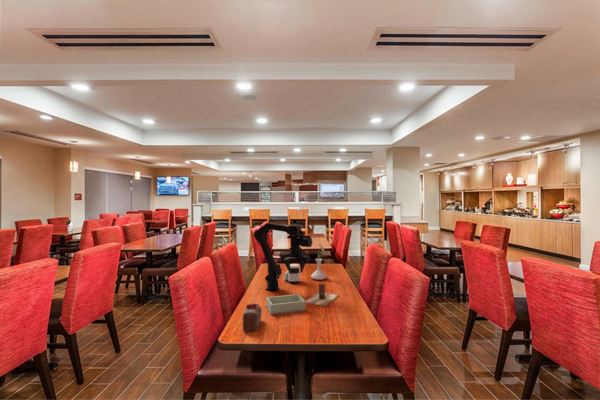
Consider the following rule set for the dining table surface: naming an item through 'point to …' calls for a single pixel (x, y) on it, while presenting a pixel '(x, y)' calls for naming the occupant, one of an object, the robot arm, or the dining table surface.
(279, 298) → the grey rectangular tray
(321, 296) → the lid
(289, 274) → the spread jar
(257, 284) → the dining table surface
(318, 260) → the flower in vase
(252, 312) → the food item
